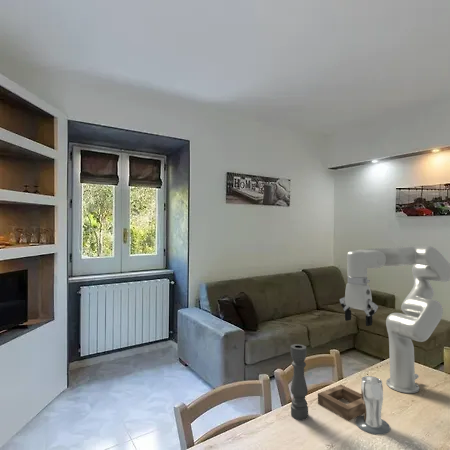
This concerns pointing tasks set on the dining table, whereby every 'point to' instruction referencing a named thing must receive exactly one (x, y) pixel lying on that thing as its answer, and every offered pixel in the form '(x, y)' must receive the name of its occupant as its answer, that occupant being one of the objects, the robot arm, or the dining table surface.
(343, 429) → the dining table surface
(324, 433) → the dining table surface
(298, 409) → the candle holder
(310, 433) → the dining table surface
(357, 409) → the frame
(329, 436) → the dining table surface
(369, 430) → the coaster
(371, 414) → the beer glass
